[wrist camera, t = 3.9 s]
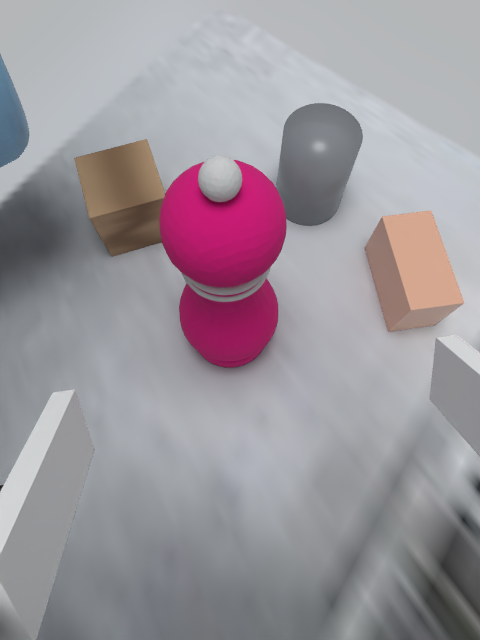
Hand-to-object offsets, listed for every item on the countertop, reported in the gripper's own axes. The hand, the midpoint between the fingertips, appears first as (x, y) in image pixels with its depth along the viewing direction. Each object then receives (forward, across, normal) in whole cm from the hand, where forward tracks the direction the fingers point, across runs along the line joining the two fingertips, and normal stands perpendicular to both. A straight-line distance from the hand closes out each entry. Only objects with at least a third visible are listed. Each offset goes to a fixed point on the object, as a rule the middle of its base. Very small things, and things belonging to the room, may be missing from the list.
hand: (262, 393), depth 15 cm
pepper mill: (+19, 0, -7) cm, 20 cm away
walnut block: (+27, -7, +2) cm, 28 cm away
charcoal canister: (+27, +9, +2) cm, 28 cm away
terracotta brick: (+20, +15, -5) cm, 25 cm away
